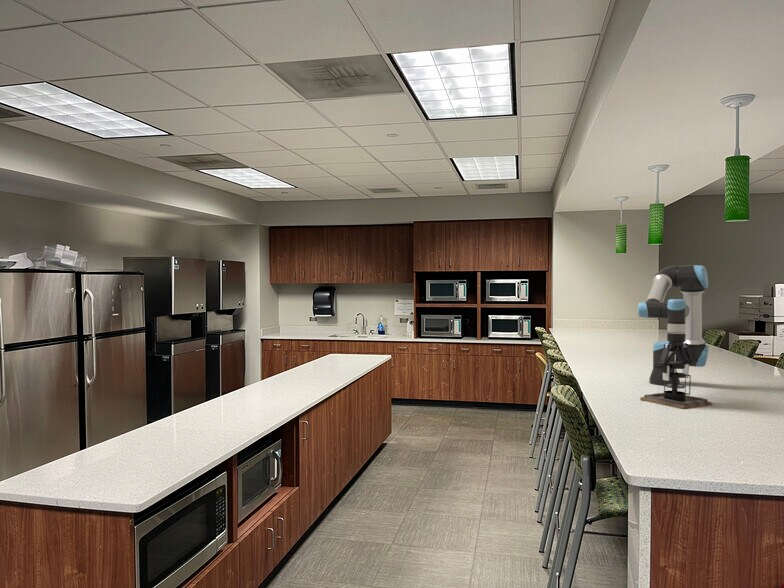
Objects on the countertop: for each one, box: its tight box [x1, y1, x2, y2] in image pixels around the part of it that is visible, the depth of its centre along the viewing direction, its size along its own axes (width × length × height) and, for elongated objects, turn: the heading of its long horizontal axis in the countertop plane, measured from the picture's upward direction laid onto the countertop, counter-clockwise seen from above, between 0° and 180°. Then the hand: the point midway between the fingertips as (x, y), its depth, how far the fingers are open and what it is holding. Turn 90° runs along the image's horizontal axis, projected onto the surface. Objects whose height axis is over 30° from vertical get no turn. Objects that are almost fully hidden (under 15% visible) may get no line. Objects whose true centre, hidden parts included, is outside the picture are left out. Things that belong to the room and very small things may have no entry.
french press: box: [663, 350, 692, 402], centre depth 265 cm, size 12×9×23 cm
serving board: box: [640, 392, 713, 410], centre depth 265 cm, size 20×22×2 cm
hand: (675, 379), depth 265 cm, fingers open, 13 cm apart
